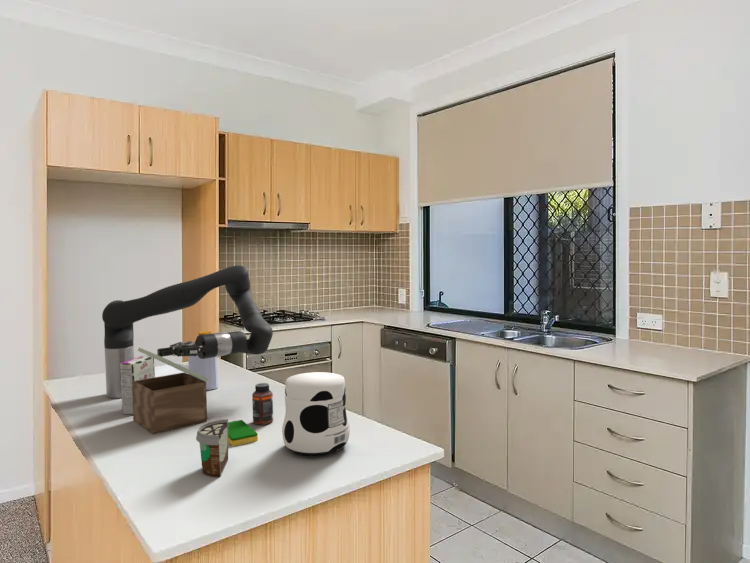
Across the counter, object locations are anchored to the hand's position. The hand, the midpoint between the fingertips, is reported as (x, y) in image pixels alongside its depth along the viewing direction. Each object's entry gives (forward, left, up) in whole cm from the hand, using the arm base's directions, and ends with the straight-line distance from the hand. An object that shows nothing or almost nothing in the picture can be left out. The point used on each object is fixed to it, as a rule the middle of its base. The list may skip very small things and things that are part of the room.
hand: (158, 352), depth 157 cm
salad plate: (-52, +23, -22) cm, 61 cm away
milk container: (+47, +23, -21) cm, 56 cm away
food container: (+41, -3, -21) cm, 46 cm away
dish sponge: (+25, +12, -22) cm, 35 cm away
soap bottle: (-30, +27, -21) cm, 45 cm away
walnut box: (0, +3, -21) cm, 21 cm away
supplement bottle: (+20, +23, -21) cm, 37 cm away
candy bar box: (-18, 0, -21) cm, 28 cm away
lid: (0, +4, -4) cm, 6 cm away
